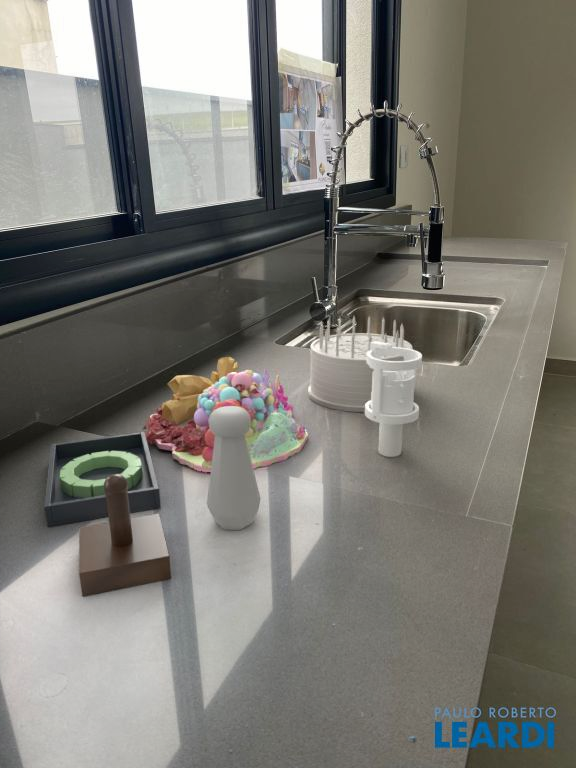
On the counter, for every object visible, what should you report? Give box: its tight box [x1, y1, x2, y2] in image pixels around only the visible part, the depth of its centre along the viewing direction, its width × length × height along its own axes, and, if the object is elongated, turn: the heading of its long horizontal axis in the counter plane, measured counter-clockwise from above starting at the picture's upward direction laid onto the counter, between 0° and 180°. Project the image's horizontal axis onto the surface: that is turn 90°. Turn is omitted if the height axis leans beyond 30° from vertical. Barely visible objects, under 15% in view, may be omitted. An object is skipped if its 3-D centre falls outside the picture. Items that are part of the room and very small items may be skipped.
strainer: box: [364, 341, 423, 458], centre depth 80 cm, size 7×7×15 cm
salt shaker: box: [206, 406, 262, 531], centre depth 64 cm, size 6×6×13 cm
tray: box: [43, 431, 162, 528], centre depth 75 cm, size 12×17×2 cm
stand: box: [78, 474, 172, 597], centre depth 58 cm, size 8×8×10 cm
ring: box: [60, 451, 143, 498], centre depth 75 cm, size 10×10×2 cm
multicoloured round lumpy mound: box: [141, 356, 309, 473], centre depth 88 cm, size 25×24×9 cm
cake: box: [307, 315, 414, 413], centre depth 103 cm, size 18×18×13 cm
